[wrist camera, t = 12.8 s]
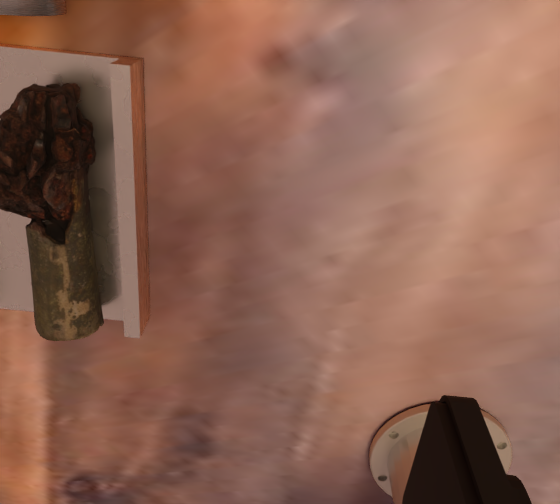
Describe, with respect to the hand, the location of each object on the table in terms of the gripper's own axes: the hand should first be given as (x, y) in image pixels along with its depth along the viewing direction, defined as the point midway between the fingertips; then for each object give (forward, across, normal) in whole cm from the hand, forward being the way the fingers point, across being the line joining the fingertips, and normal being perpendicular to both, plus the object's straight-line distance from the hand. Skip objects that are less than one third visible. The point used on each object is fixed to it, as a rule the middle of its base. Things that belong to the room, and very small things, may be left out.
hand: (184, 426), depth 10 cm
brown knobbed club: (+28, +14, +8) cm, 32 cm away
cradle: (+28, +15, +8) cm, 33 cm away
